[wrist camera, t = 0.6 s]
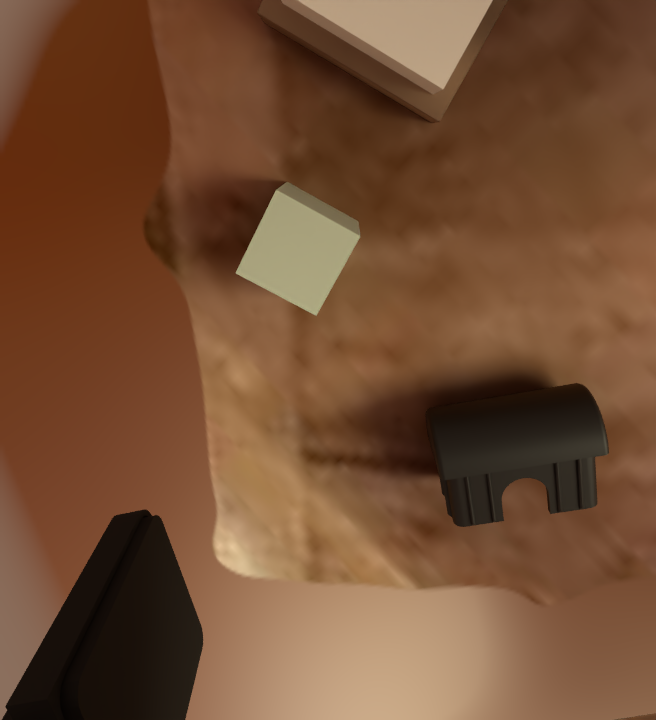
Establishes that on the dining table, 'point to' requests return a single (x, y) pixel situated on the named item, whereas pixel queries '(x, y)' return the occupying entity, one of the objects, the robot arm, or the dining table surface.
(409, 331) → the dining table surface
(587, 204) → the dining table surface
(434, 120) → the walnut slab
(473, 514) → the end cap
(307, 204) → the green block
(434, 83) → the white slab
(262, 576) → the dining table surface
